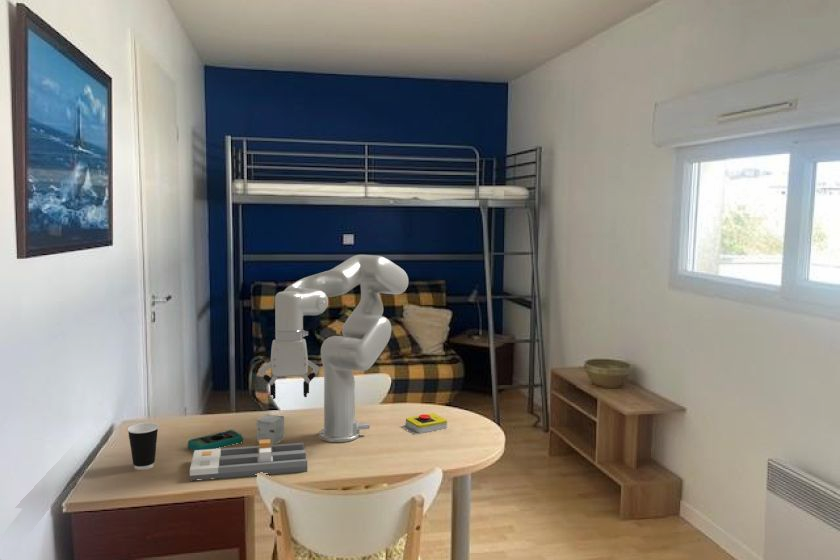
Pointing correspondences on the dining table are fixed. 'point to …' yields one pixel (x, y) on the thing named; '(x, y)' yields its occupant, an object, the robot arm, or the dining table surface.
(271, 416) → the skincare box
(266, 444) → the tab orange
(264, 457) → the tab white
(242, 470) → the switch panel
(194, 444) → the digital multimeter
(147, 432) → the dixie cup
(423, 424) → the emergency button
